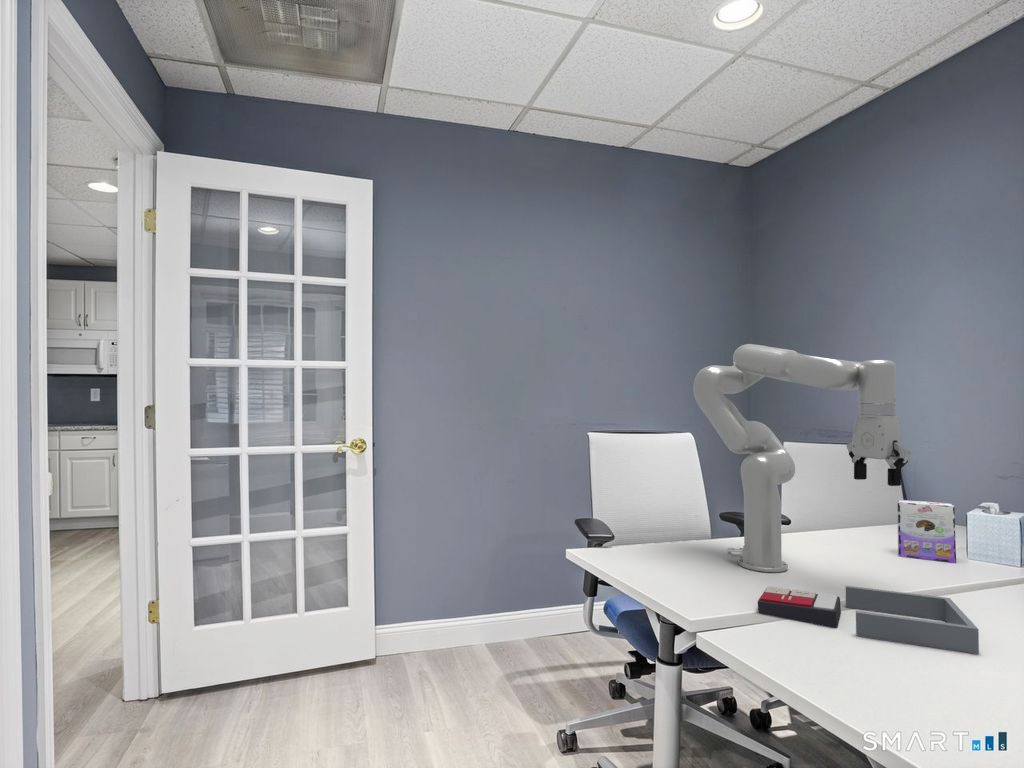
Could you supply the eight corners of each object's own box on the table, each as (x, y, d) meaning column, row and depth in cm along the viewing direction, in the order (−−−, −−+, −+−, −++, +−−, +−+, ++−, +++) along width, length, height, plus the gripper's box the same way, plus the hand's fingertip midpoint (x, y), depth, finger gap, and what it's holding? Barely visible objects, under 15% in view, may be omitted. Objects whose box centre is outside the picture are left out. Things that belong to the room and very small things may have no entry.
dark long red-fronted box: (766, 584, 134) (839, 593, 126) (767, 603, 133) (841, 613, 125) (756, 597, 125) (835, 607, 116) (758, 617, 124) (837, 629, 116)
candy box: (954, 559, 169) (953, 502, 169) (956, 563, 164) (955, 505, 164) (897, 552, 176) (896, 498, 177) (898, 556, 171) (897, 501, 172)
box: (856, 635, 112) (856, 612, 113) (845, 605, 129) (845, 585, 129) (978, 654, 104) (978, 629, 105) (950, 619, 121) (949, 598, 121)
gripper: (836, 410, 146) (835, 477, 146) (895, 412, 129) (895, 488, 129) (860, 410, 148) (860, 476, 147) (922, 412, 131) (922, 488, 130)
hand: (876, 482), depth 138 cm, fingers open, 9 cm apart
